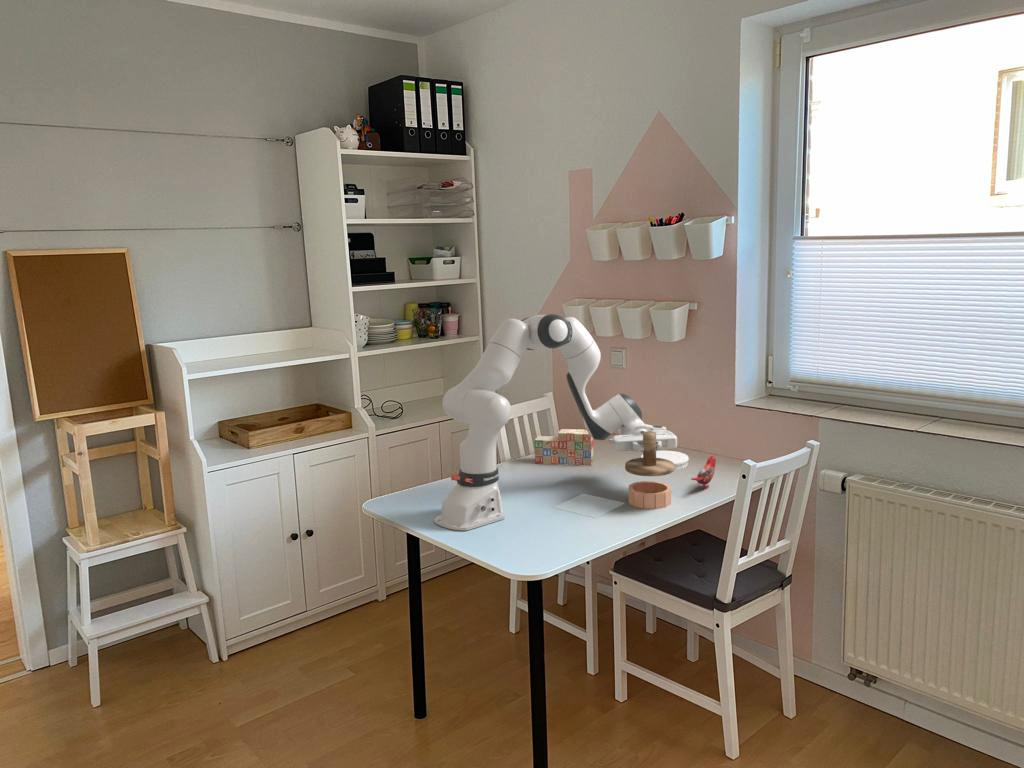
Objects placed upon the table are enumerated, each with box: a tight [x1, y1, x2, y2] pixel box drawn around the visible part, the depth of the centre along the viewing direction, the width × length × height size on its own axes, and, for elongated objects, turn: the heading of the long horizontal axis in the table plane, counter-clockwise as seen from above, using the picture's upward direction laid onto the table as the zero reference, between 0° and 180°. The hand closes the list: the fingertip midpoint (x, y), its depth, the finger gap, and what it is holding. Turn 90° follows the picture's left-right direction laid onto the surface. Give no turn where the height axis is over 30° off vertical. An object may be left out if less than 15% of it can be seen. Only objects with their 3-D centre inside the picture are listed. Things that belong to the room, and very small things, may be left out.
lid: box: [640, 450, 690, 471], centre depth 284 cm, size 17×20×3 cm
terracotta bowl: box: [627, 480, 672, 510], centre depth 243 cm, size 13×13×5 cm
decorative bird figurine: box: [690, 455, 717, 490], centre depth 252 cm, size 3×18×10 cm, turn 141°
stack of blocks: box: [534, 428, 595, 467], centre depth 288 cm, size 21×6×12 cm, turn 75°
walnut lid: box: [624, 431, 675, 477], centre depth 240 cm, size 15×15×12 cm
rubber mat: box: [553, 493, 626, 519], centre depth 242 cm, size 16×16×1 cm
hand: (650, 448), depth 239 cm, fingers closed on walnut lid, 4 cm apart
